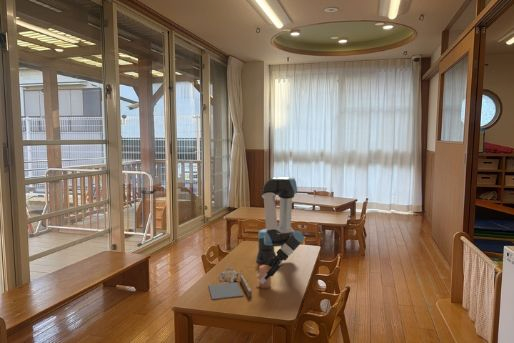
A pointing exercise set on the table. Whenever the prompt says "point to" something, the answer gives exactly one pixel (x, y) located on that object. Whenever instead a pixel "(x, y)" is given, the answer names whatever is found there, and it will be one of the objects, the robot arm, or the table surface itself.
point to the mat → (225, 291)
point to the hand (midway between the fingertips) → (259, 280)
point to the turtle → (229, 275)
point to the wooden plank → (246, 286)
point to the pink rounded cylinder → (262, 272)
